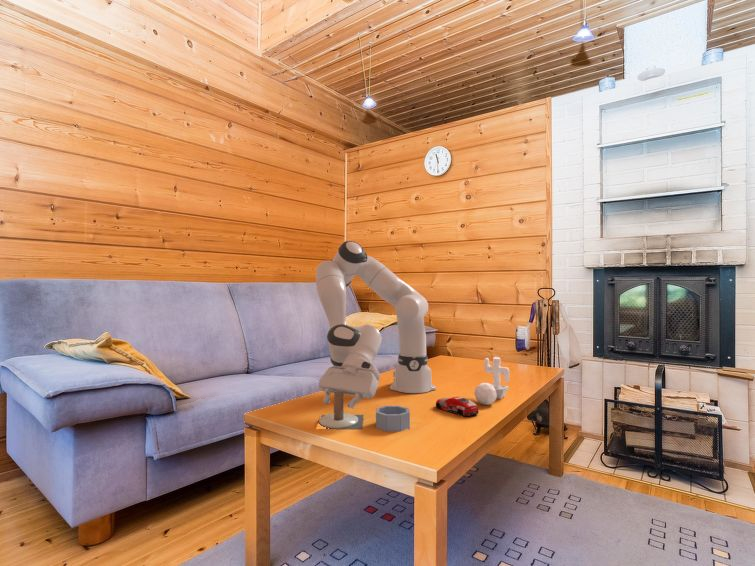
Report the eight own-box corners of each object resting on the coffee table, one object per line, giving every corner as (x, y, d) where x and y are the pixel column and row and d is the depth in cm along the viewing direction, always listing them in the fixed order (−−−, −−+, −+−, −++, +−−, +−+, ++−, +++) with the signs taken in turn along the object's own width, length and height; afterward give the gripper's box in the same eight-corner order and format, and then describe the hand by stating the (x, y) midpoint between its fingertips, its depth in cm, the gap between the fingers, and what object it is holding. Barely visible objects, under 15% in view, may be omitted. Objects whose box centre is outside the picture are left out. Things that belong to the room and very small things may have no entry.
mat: (320, 416, 140) (320, 415, 140) (363, 415, 140) (363, 414, 140) (314, 430, 126) (314, 429, 126) (362, 430, 126) (362, 429, 126)
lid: (321, 416, 138) (321, 388, 138) (358, 416, 138) (358, 388, 138) (316, 428, 126) (316, 398, 126) (357, 428, 126) (357, 398, 126)
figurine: (506, 400, 158) (506, 360, 158) (481, 397, 163) (481, 357, 163) (511, 396, 164) (511, 357, 164) (487, 393, 169) (487, 355, 169)
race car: (431, 408, 150) (431, 394, 150) (445, 405, 154) (445, 391, 154) (467, 419, 137) (467, 403, 137) (481, 415, 141) (481, 400, 141)
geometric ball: (483, 413, 152) (473, 397, 149) (478, 399, 159) (468, 384, 157) (502, 403, 150) (492, 387, 148) (497, 390, 158) (487, 374, 155)
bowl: (375, 421, 134) (375, 405, 134) (407, 421, 134) (407, 405, 134) (376, 432, 124) (376, 415, 124) (410, 432, 124) (410, 415, 124)
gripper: (326, 359, 144) (306, 394, 136) (377, 365, 133) (360, 404, 125) (334, 370, 148) (316, 405, 140) (385, 377, 137) (368, 415, 129)
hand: (337, 405), depth 132 cm, fingers open, 8 cm apart
